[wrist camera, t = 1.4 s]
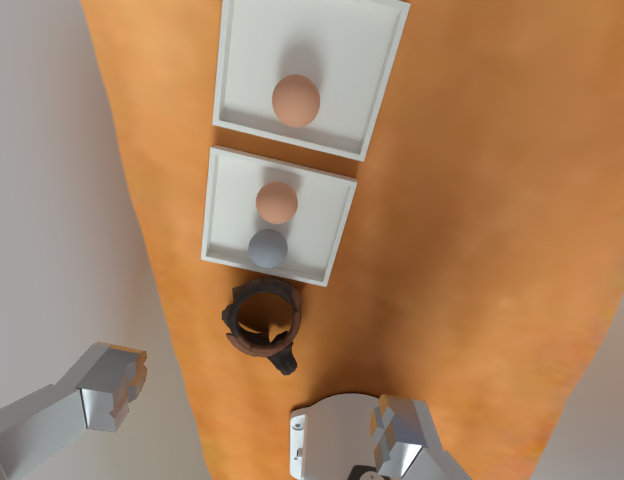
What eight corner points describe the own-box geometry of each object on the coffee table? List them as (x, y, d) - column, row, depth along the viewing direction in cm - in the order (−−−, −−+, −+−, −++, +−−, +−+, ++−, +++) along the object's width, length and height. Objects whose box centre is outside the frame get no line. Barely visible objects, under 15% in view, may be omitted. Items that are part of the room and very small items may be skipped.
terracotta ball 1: (314, 130, 28) (313, 134, 24) (272, 120, 27) (264, 122, 24) (325, 83, 26) (325, 79, 22) (280, 71, 26) (272, 65, 22)
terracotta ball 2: (295, 219, 31) (291, 234, 28) (257, 210, 31) (248, 224, 27) (303, 182, 30) (300, 193, 26) (263, 173, 29) (254, 182, 26)
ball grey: (286, 260, 33) (281, 279, 30) (250, 252, 33) (241, 270, 29) (293, 228, 32) (288, 244, 28) (256, 219, 31) (247, 234, 28)
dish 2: (326, 278, 35) (326, 287, 33) (206, 251, 34) (200, 259, 32) (355, 178, 30) (357, 182, 28) (216, 145, 29) (210, 147, 27)
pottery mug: (210, 300, 37) (200, 312, 29) (274, 257, 39) (280, 258, 31) (264, 377, 38) (268, 409, 30) (323, 332, 40) (342, 351, 32)
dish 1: (361, 158, 29) (363, 161, 27) (218, 123, 28) (212, 124, 27) (405, 10, 24) (410, 3, 22) (233, -37, 23) (227, -48, 22)
